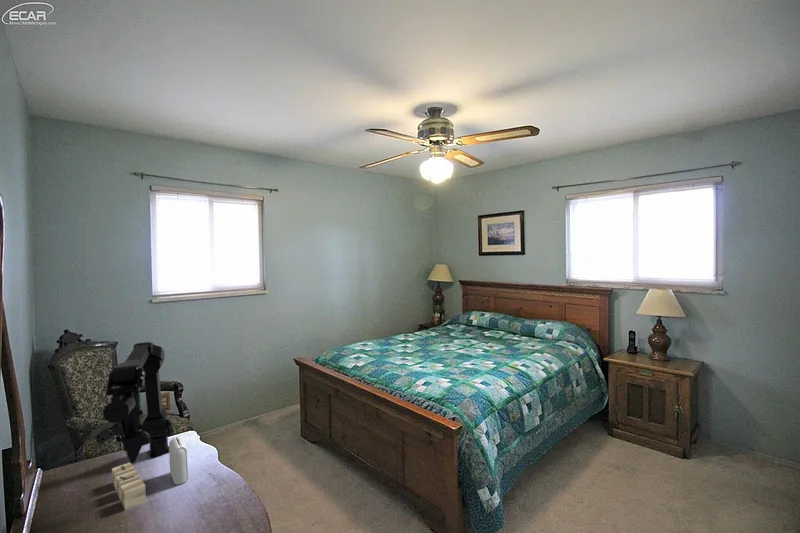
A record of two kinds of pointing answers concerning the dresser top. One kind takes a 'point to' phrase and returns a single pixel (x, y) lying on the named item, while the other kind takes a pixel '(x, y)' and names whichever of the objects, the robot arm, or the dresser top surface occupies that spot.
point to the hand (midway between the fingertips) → (131, 461)
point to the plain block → (133, 494)
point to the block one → (121, 471)
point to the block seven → (126, 480)
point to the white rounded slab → (178, 460)
